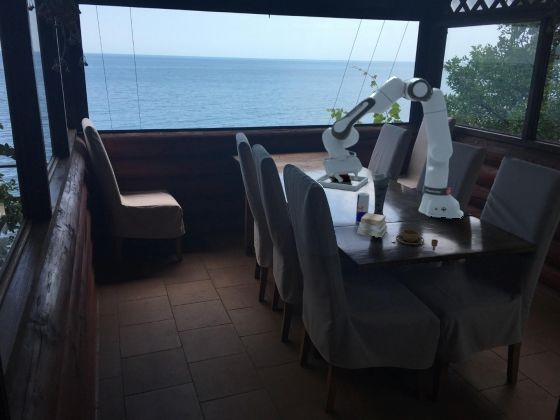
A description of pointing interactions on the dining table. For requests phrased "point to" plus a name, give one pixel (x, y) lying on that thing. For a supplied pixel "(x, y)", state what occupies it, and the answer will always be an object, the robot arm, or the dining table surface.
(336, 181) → the fire station toy set
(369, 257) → the dining table surface
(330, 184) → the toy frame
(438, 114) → the robot arm
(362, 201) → the beverage can
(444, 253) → the dining table surface
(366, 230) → the stacked square slabs
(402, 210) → the dining table surface
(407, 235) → the place setting
